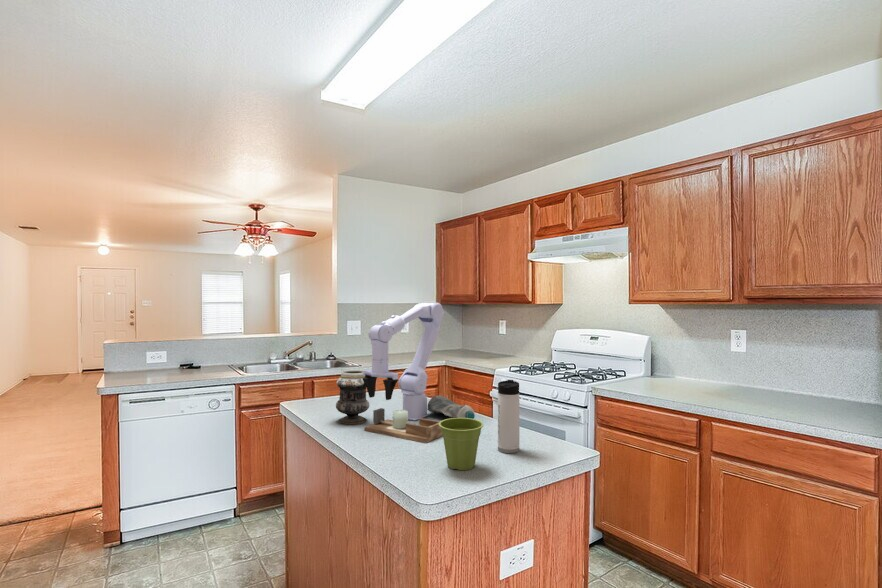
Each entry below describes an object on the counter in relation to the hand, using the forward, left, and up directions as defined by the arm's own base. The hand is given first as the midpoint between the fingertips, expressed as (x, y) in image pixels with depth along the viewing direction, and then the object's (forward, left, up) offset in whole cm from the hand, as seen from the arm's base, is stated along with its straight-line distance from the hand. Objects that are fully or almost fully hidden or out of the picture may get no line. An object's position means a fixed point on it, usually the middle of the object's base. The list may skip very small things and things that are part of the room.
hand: (380, 398), depth 163 cm
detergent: (-22, +17, -10) cm, 29 cm away
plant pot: (+19, +44, -10) cm, 49 cm away
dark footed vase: (+1, -12, -10) cm, 15 cm away
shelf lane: (+2, +13, -9) cm, 16 cm away
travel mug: (0, +49, -10) cm, 50 cm away
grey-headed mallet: (+2, +7, -8) cm, 11 cm away
